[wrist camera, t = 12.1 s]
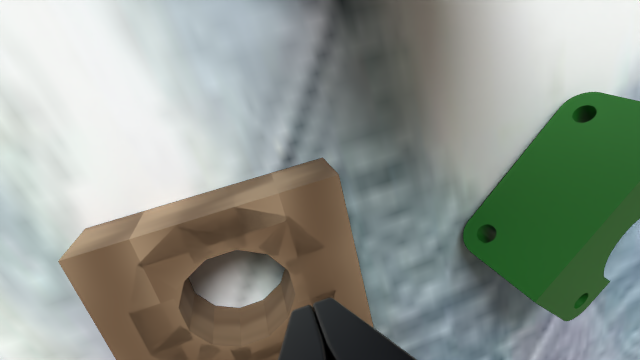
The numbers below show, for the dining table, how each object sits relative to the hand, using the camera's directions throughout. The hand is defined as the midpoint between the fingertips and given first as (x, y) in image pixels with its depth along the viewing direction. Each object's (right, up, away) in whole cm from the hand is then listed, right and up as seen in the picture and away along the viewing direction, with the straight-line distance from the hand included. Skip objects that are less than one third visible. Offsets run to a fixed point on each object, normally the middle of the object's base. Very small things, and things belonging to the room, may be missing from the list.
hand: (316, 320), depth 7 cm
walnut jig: (-3, -6, +14) cm, 16 cm away
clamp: (+14, +2, +16) cm, 22 cm away
